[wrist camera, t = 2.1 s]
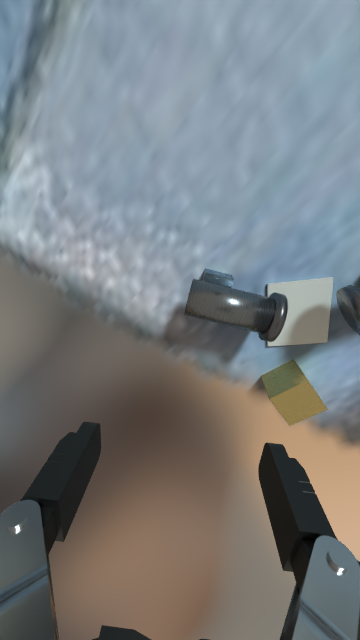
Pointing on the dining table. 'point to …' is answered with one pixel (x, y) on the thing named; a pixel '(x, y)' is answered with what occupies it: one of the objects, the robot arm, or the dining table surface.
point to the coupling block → (292, 393)
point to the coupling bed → (304, 311)
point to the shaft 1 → (236, 306)
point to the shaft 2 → (350, 306)
